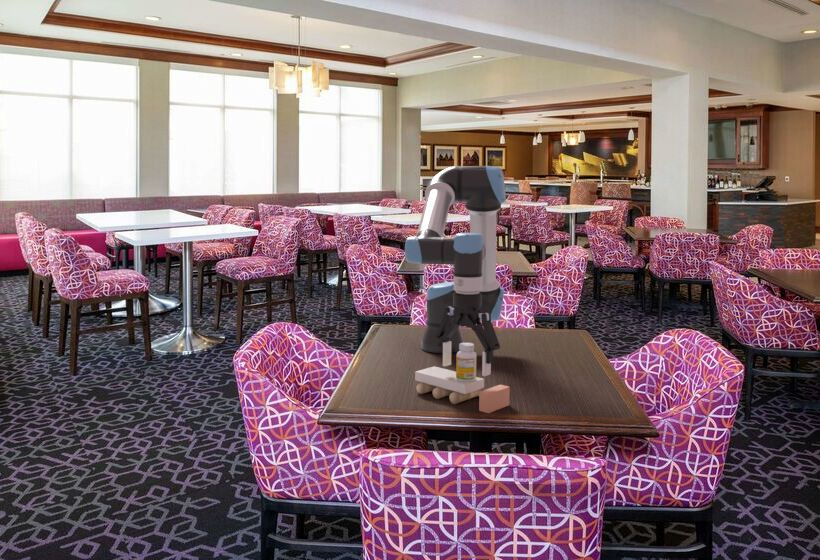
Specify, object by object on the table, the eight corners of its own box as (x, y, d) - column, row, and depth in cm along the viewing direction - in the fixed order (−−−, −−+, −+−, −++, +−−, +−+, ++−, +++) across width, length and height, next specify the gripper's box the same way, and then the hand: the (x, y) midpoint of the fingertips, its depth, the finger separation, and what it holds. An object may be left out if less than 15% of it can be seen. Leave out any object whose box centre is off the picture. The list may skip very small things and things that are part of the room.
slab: (415, 380, 191) (415, 371, 191) (434, 374, 197) (434, 366, 196) (465, 394, 179) (465, 384, 178) (483, 387, 184) (484, 378, 184)
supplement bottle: (462, 375, 187) (463, 340, 186) (479, 378, 184) (480, 343, 183) (452, 380, 183) (452, 344, 181) (469, 383, 180) (470, 347, 178)
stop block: (479, 410, 175) (479, 391, 175) (499, 402, 182) (500, 384, 181) (488, 413, 173) (488, 394, 172) (509, 405, 180) (509, 386, 179)
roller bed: (416, 392, 190) (416, 382, 189) (440, 385, 197) (440, 375, 196) (458, 405, 179) (458, 394, 179) (481, 396, 187) (481, 386, 186)
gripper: (423, 288, 186) (422, 363, 189) (497, 299, 169) (495, 382, 172) (441, 285, 191) (440, 359, 194) (514, 295, 174) (512, 376, 177)
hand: (466, 370), depth 183 cm, fingers open, 13 cm apart
